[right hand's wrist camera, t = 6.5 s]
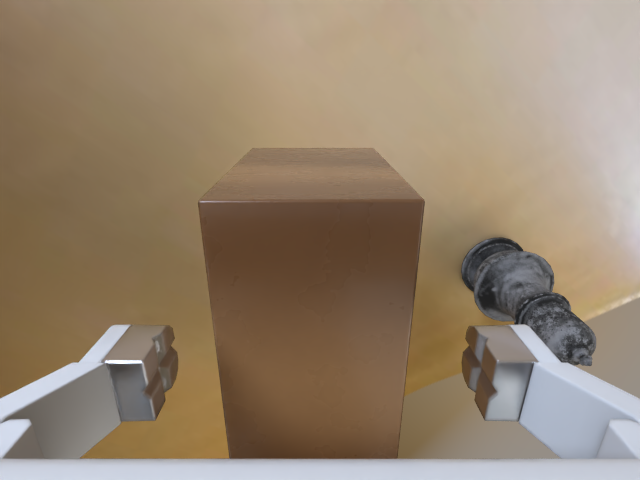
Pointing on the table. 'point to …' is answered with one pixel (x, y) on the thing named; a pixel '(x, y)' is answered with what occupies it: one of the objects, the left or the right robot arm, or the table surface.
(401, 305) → the box
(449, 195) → the table surface
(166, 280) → the table surface
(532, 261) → the grey chess piece
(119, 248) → the table surface
